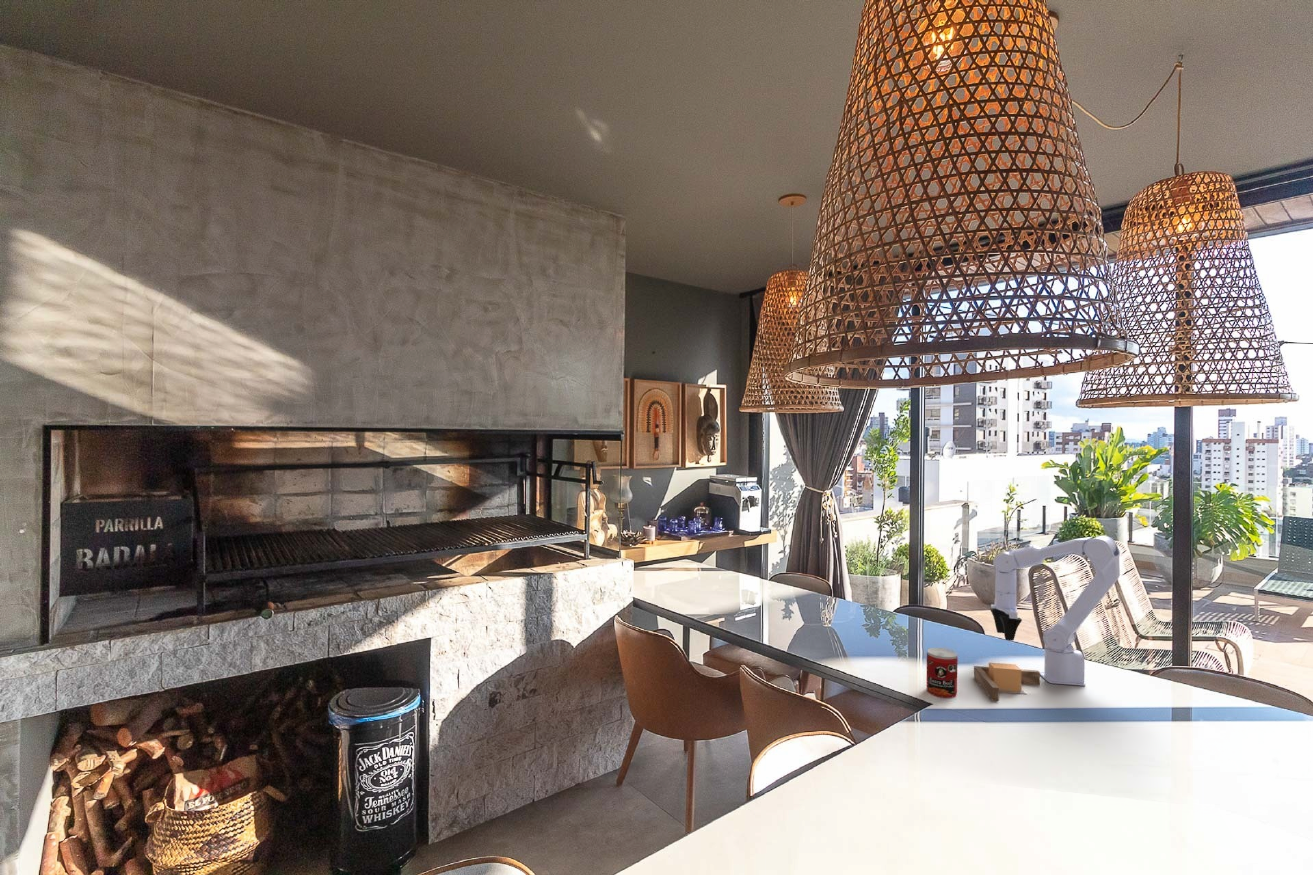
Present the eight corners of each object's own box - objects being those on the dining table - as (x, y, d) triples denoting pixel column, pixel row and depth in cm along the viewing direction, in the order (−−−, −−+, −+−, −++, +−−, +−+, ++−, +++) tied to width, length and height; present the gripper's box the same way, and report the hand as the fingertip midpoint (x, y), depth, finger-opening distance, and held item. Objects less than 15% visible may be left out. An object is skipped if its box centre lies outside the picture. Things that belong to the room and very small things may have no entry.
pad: (1015, 682, 187) (1015, 682, 187) (1025, 694, 179) (1025, 693, 179) (981, 680, 189) (981, 680, 189) (991, 691, 180) (991, 690, 180)
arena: (1037, 682, 188) (1037, 670, 188) (1062, 706, 171) (1063, 692, 171) (973, 677, 191) (974, 665, 191) (992, 700, 174) (992, 687, 174)
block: (988, 683, 186) (988, 662, 186) (1014, 685, 185) (1015, 664, 185) (993, 689, 181) (994, 667, 182) (1021, 691, 180) (1021, 669, 180)
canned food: (924, 694, 177) (925, 653, 177) (927, 685, 184) (928, 645, 184) (956, 700, 174) (956, 658, 174) (957, 690, 181) (958, 650, 181)
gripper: (984, 585, 208) (983, 628, 208) (999, 596, 194) (998, 642, 194) (1008, 586, 207) (1007, 630, 207) (1025, 597, 193) (1024, 644, 193)
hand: (1005, 636), depth 200 cm, fingers open, 7 cm apart
